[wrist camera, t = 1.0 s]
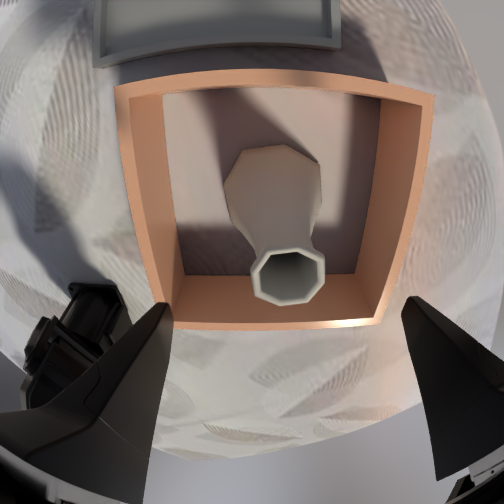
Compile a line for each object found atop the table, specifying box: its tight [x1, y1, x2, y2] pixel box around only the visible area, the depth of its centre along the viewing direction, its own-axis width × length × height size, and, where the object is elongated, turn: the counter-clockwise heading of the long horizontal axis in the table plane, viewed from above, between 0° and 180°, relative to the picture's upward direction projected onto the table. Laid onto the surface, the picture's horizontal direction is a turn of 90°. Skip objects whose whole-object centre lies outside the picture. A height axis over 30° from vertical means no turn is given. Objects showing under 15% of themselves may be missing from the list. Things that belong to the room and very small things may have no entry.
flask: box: [224, 144, 325, 306], centre depth 15 cm, size 7×7×10 cm
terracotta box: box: [114, 69, 434, 331], centre depth 17 cm, size 17×17×6 cm
